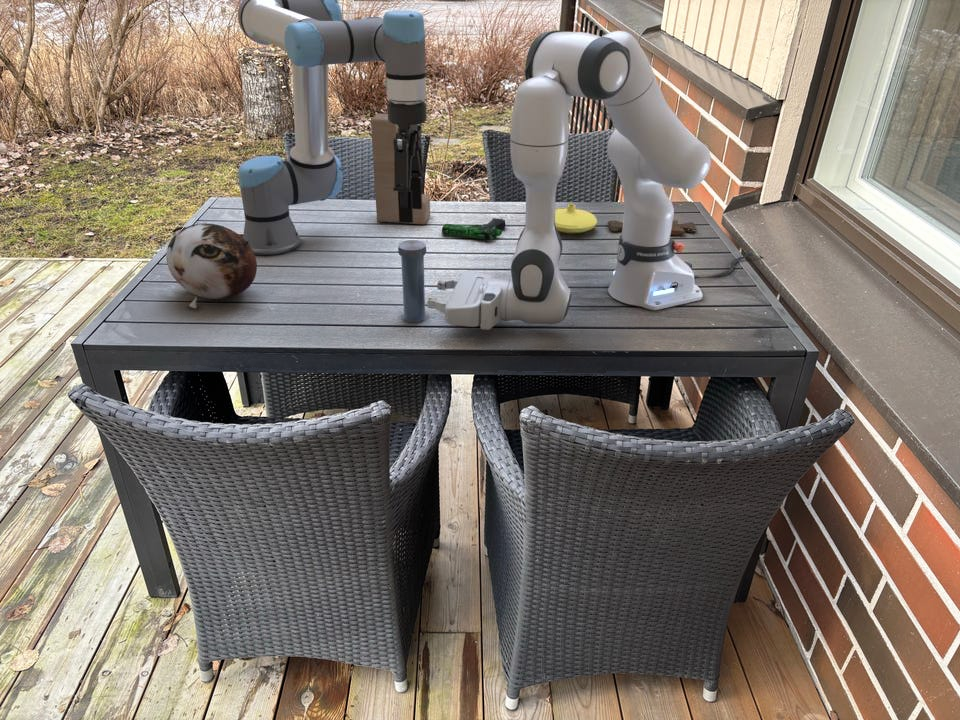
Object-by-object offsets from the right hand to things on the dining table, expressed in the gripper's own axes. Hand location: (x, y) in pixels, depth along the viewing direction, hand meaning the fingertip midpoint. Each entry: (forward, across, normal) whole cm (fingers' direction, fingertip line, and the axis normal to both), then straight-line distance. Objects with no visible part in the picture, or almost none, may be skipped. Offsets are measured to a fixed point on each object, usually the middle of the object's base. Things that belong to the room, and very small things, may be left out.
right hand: (433, 293), depth 157 cm
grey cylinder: (+4, 0, +6) cm, 8 cm away
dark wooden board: (-50, -69, +6) cm, 86 cm away
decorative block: (+24, -62, +6) cm, 66 cm away
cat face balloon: (+53, -2, +7) cm, 53 cm away
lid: (+4, 0, -11) cm, 11 cm away
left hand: (+4, 0, -18) cm, 18 cm away
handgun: (0, -56, +6) cm, 56 cm away
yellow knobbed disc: (-26, -64, +6) cm, 70 cm away
